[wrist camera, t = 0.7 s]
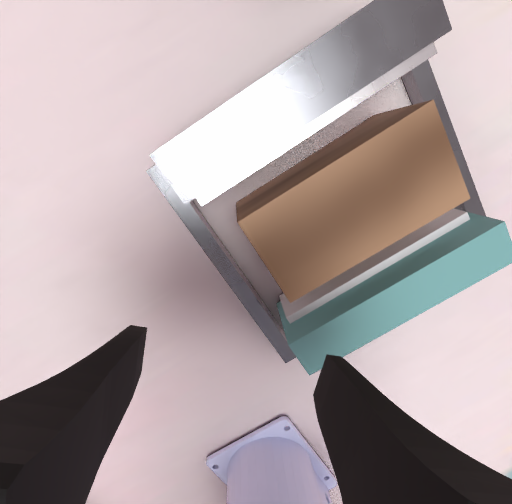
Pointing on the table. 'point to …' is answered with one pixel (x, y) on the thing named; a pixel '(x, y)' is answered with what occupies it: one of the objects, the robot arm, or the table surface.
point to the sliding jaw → (394, 286)
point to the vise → (302, 121)
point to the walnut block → (353, 198)
